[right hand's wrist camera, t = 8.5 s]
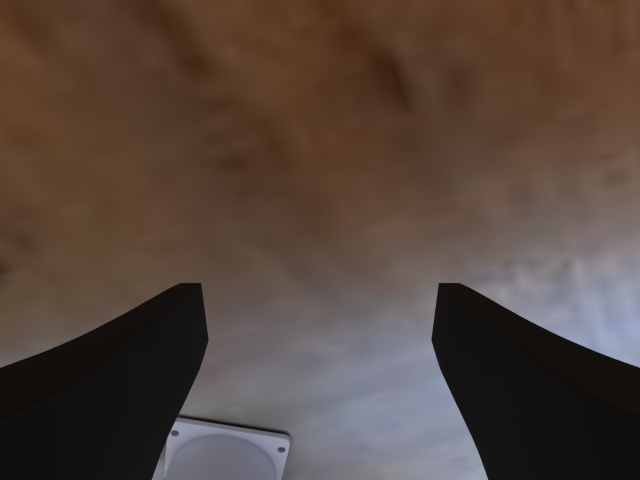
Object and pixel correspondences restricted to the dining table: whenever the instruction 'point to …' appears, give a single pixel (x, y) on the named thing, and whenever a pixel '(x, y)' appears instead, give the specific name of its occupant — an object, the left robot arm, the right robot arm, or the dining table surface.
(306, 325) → the dining table surface
